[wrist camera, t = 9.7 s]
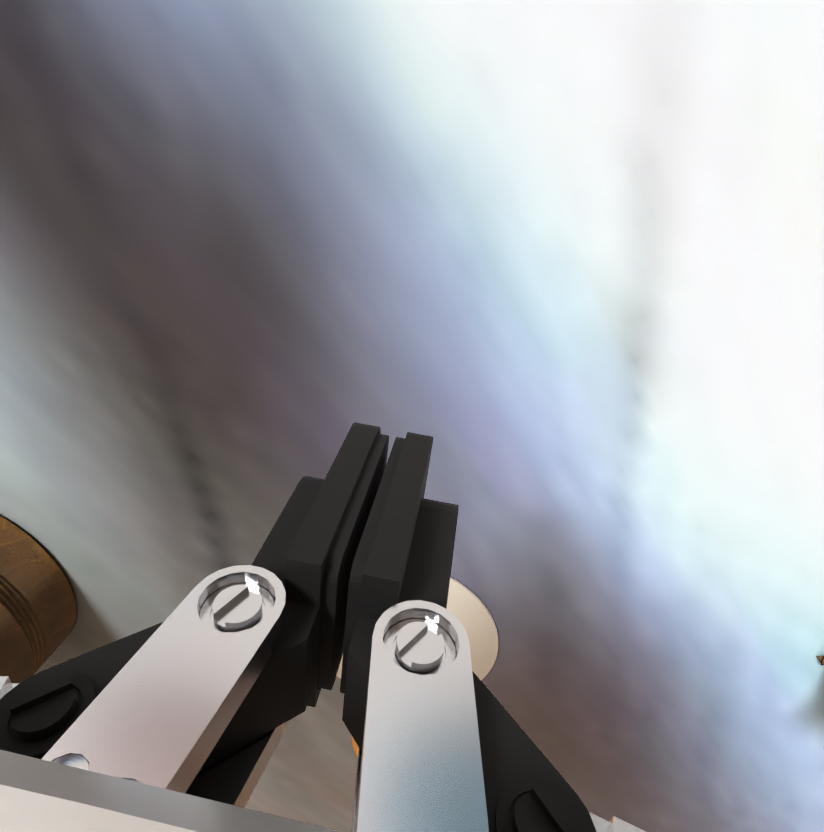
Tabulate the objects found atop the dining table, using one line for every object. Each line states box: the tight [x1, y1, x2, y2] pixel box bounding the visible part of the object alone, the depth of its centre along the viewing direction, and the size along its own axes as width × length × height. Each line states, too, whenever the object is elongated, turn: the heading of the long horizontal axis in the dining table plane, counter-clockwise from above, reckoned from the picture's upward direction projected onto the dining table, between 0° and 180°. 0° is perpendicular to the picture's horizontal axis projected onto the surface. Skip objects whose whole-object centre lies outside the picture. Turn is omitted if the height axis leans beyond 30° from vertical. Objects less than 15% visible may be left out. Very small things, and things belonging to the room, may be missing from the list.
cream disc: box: [336, 577, 498, 680], centre depth 34 cm, size 13×13×1 cm
